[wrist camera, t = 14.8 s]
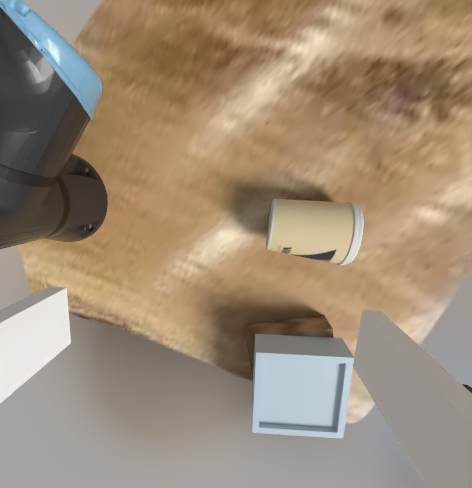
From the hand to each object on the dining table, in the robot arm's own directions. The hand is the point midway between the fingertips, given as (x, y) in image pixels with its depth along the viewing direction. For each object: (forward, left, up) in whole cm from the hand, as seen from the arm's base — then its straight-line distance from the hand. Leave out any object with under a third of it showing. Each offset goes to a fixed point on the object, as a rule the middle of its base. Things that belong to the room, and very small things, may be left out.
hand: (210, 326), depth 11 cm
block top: (+11, -24, -28) cm, 38 cm away
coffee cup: (+5, +1, -28) cm, 29 cm away
